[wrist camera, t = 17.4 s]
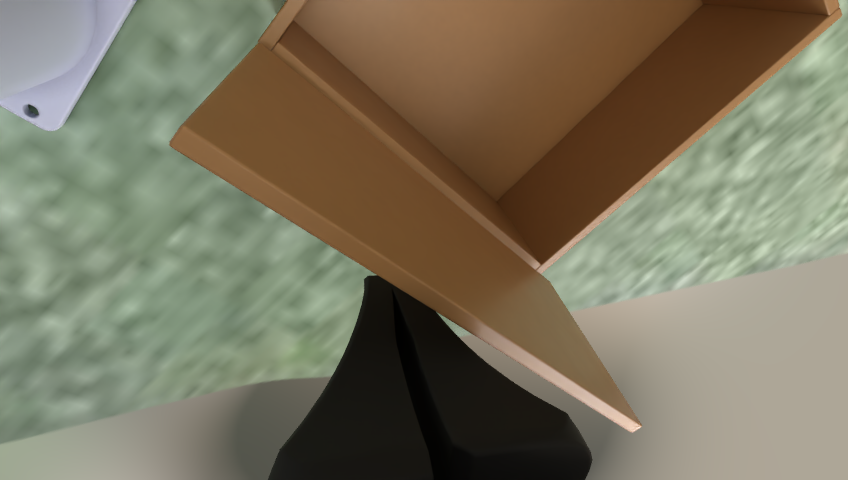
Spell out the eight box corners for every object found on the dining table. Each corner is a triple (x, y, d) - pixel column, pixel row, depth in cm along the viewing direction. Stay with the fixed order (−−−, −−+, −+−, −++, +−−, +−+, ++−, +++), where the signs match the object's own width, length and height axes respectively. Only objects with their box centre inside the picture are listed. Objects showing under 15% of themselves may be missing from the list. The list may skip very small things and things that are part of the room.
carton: (493, 207, 24) (540, 275, 19) (279, 19, 17) (257, 42, 12) (707, 3, 20) (843, 15, 15) (538, -344, 13) (676, -551, 8)
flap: (549, 281, 18) (542, 287, 18) (259, 41, 11) (250, 53, 11) (643, 427, 12) (631, 433, 12) (181, 124, 6) (166, 145, 6)
